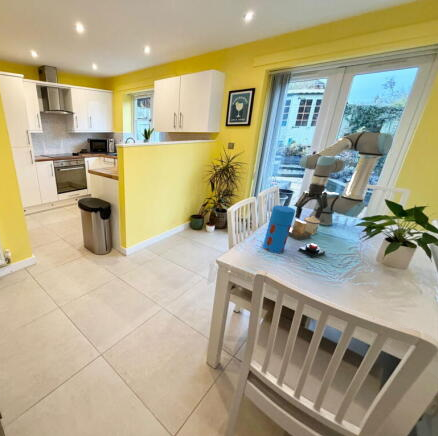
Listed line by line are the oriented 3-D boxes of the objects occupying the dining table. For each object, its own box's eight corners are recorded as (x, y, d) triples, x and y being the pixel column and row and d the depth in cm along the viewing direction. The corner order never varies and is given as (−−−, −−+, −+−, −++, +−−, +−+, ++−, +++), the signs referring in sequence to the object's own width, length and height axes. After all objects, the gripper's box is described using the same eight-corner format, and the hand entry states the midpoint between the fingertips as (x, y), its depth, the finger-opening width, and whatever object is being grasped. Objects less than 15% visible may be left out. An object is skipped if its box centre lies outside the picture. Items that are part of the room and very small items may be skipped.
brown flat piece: (295, 230, 157) (296, 226, 156) (311, 237, 147) (312, 233, 146) (282, 233, 153) (284, 228, 152) (298, 240, 143) (299, 236, 142)
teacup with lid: (315, 236, 150) (321, 220, 145) (299, 232, 155) (304, 216, 150) (317, 230, 158) (322, 215, 154) (301, 226, 163) (306, 211, 159)
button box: (310, 248, 135) (312, 242, 133) (324, 255, 128) (326, 248, 126) (298, 250, 131) (300, 244, 130) (311, 258, 124) (314, 251, 123)
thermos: (259, 246, 135) (268, 206, 125) (270, 242, 140) (280, 204, 130) (276, 254, 126) (288, 213, 117) (287, 250, 131) (299, 210, 122)
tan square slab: (292, 229, 152) (295, 219, 149) (294, 229, 152) (297, 219, 150) (301, 233, 146) (305, 223, 143) (304, 233, 146) (307, 223, 143)
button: (312, 245, 130) (313, 242, 130) (318, 248, 127) (319, 245, 126) (307, 246, 129) (308, 243, 128) (313, 249, 126) (314, 246, 125)
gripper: (304, 185, 125) (293, 220, 133) (343, 185, 128) (330, 219, 136) (294, 182, 132) (284, 215, 140) (331, 182, 135) (320, 215, 143)
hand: (307, 217), depth 138 cm, fingers open, 13 cm apart
